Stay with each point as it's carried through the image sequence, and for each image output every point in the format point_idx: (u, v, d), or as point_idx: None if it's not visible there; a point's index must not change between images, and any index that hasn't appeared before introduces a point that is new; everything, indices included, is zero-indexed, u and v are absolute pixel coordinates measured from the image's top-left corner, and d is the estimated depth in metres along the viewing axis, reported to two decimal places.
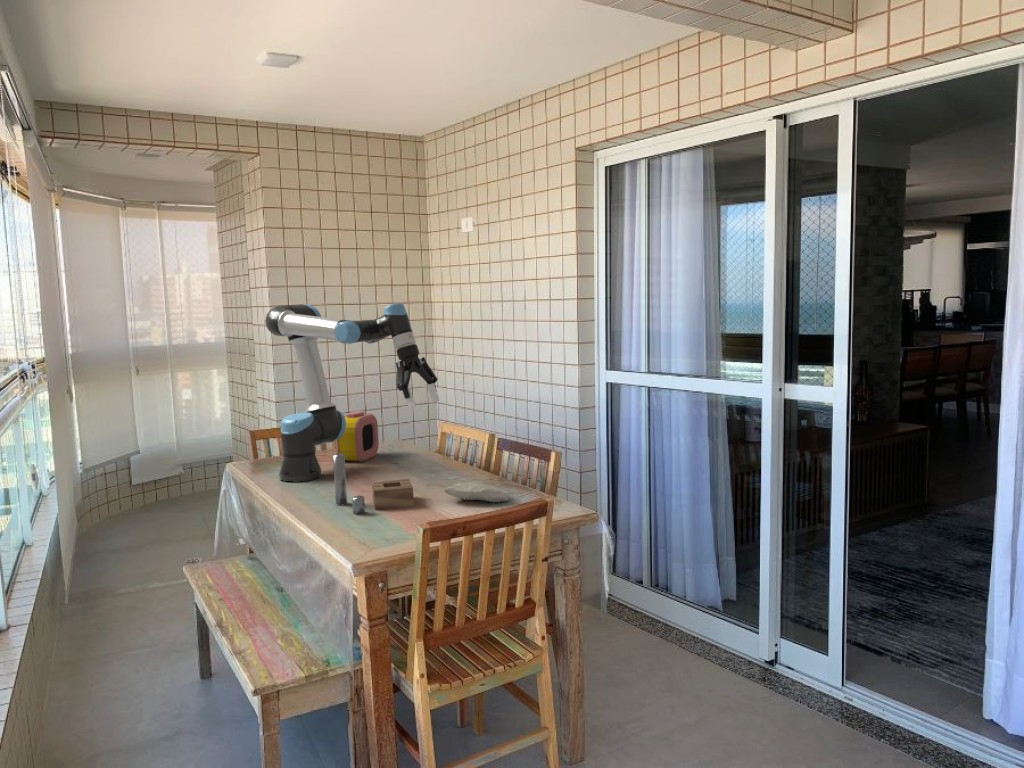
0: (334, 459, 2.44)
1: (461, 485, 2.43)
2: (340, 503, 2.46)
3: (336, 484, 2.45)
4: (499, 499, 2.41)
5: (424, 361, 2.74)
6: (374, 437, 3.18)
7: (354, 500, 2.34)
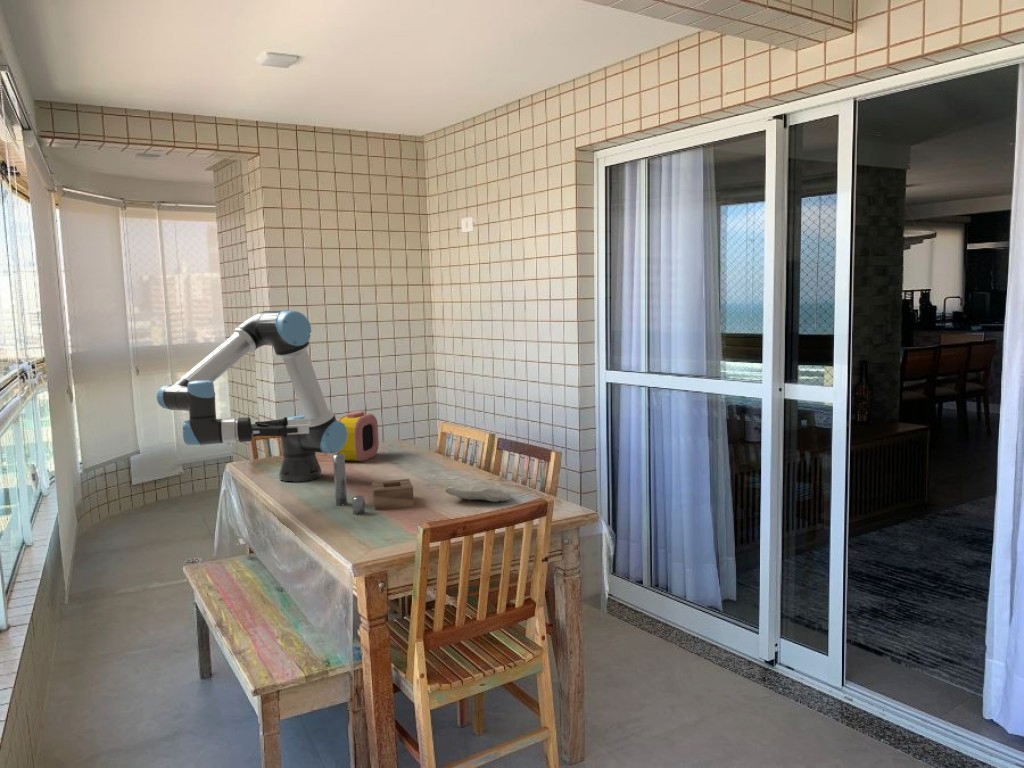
0: (334, 459, 2.44)
1: (462, 485, 2.44)
2: (340, 503, 2.46)
3: (336, 484, 2.45)
4: (500, 499, 2.41)
5: None
6: (374, 437, 3.18)
7: (354, 500, 2.34)
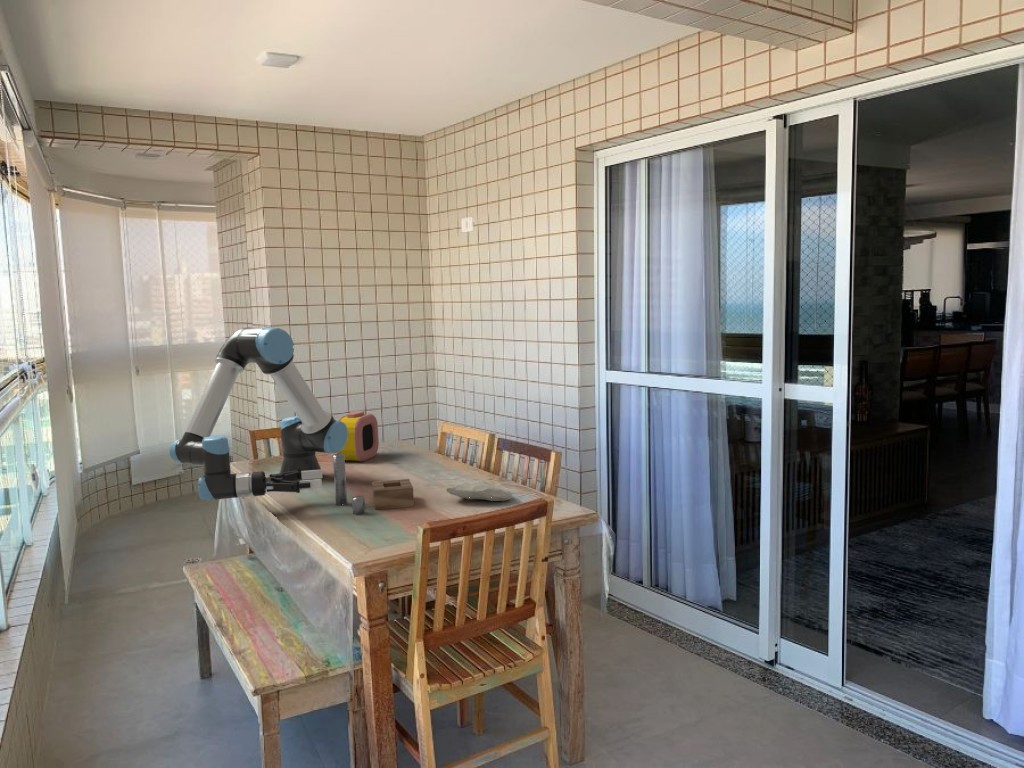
0: (334, 459, 2.44)
1: (463, 484, 2.44)
2: (340, 503, 2.46)
3: (336, 484, 2.45)
4: (501, 498, 2.42)
5: None
6: (374, 437, 3.18)
7: (354, 500, 2.34)
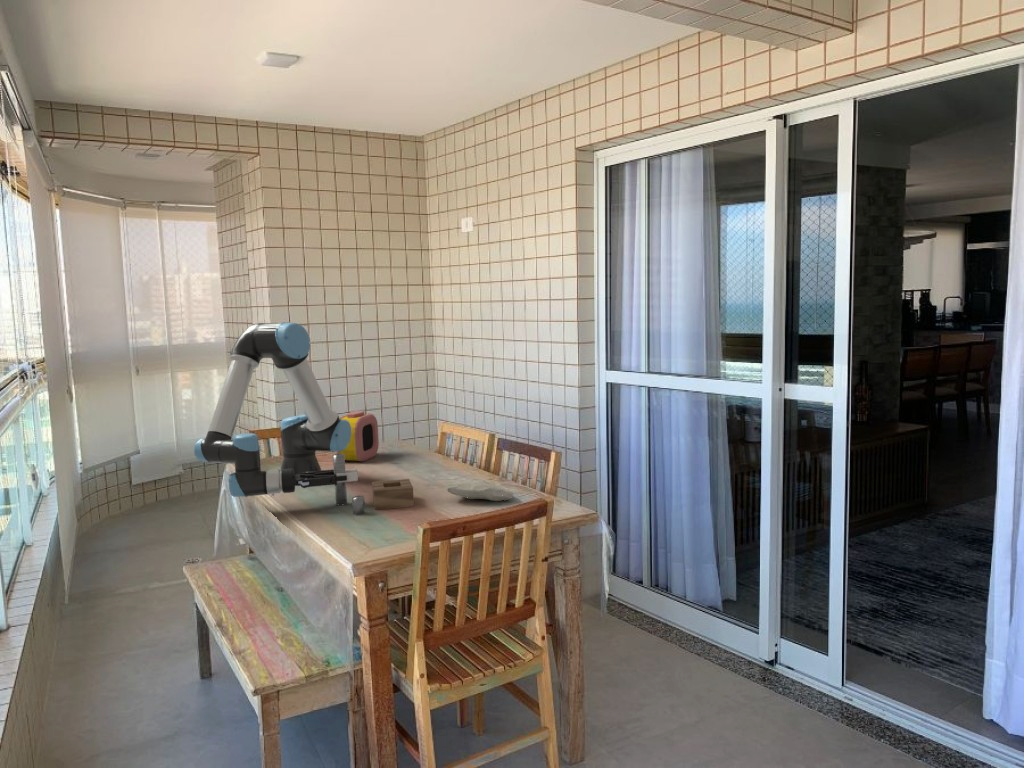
0: (334, 459, 2.44)
1: (464, 484, 2.45)
2: (340, 503, 2.46)
3: None
4: (502, 498, 2.42)
5: None
6: (374, 437, 3.18)
7: (354, 500, 2.34)
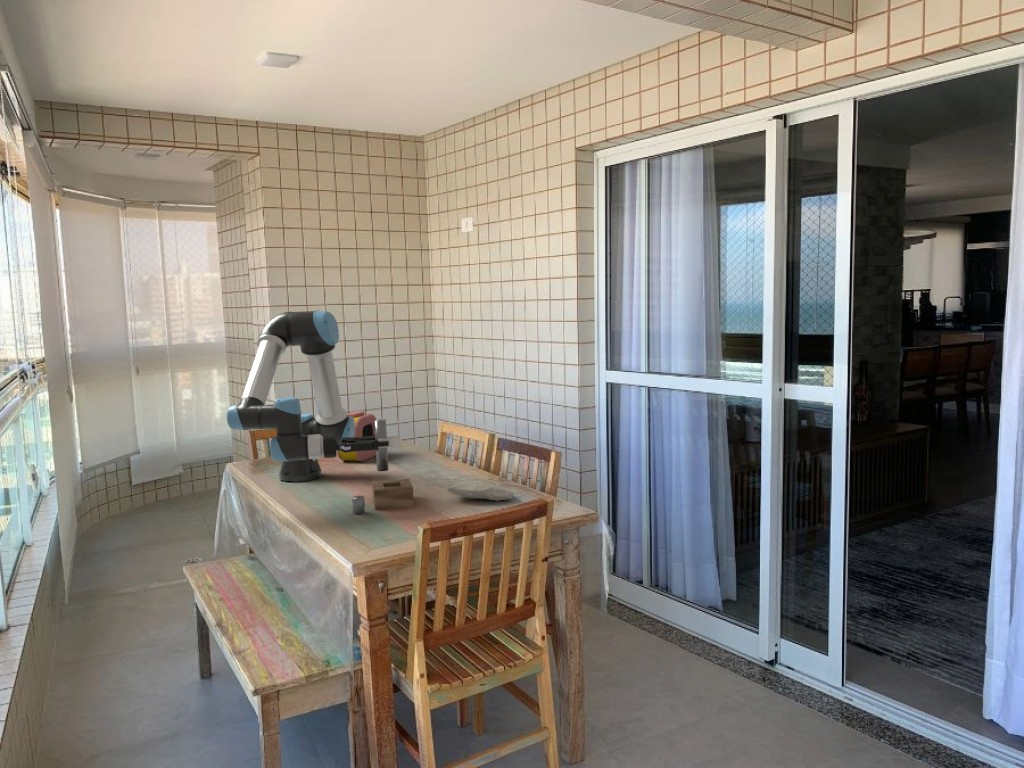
0: (376, 424, 2.41)
1: (465, 484, 2.45)
2: (381, 469, 2.42)
3: None
4: (502, 498, 2.43)
5: None
6: None
7: (354, 500, 2.34)
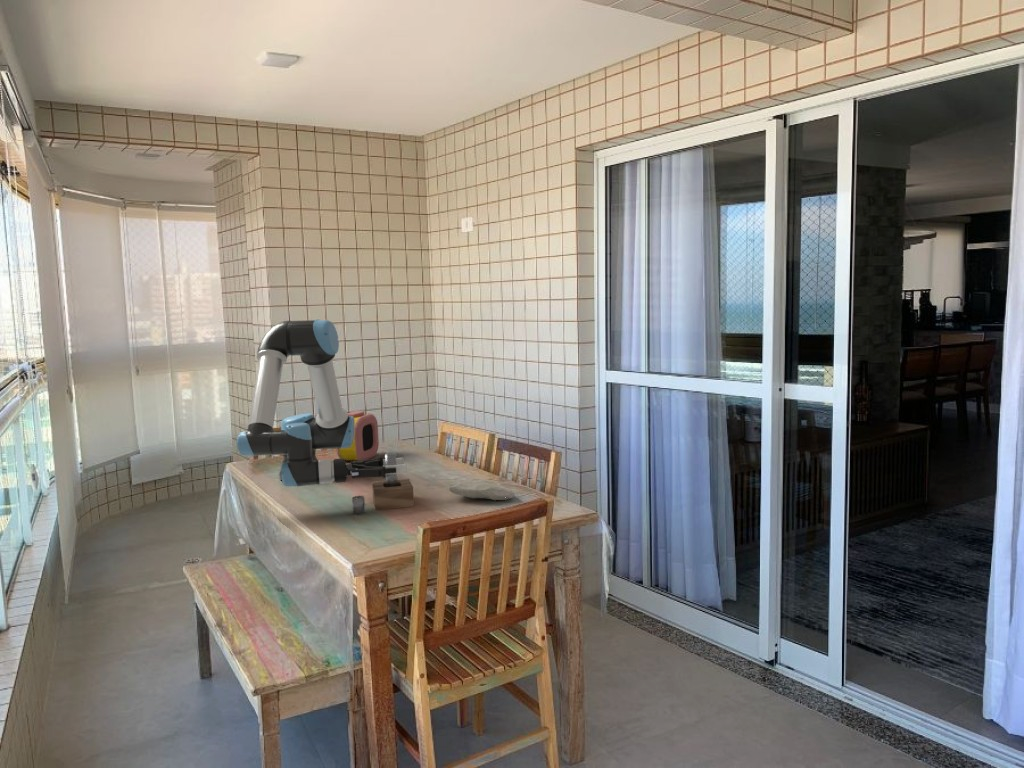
0: (386, 458, 2.43)
1: (466, 483, 2.45)
2: None
3: (388, 483, 2.44)
4: (503, 497, 2.43)
5: None
6: (374, 437, 3.18)
7: (354, 500, 2.34)
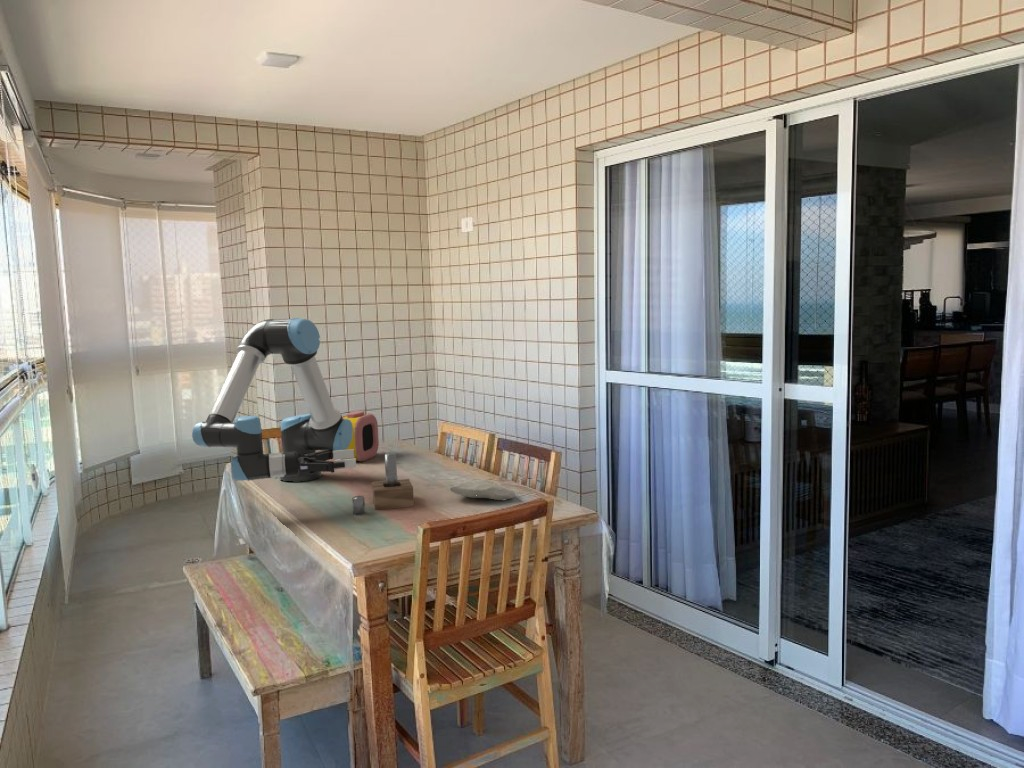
0: (386, 458, 2.43)
1: (466, 483, 2.46)
2: None
3: (388, 483, 2.44)
4: (504, 497, 2.43)
5: None
6: (374, 437, 3.18)
7: (354, 500, 2.34)
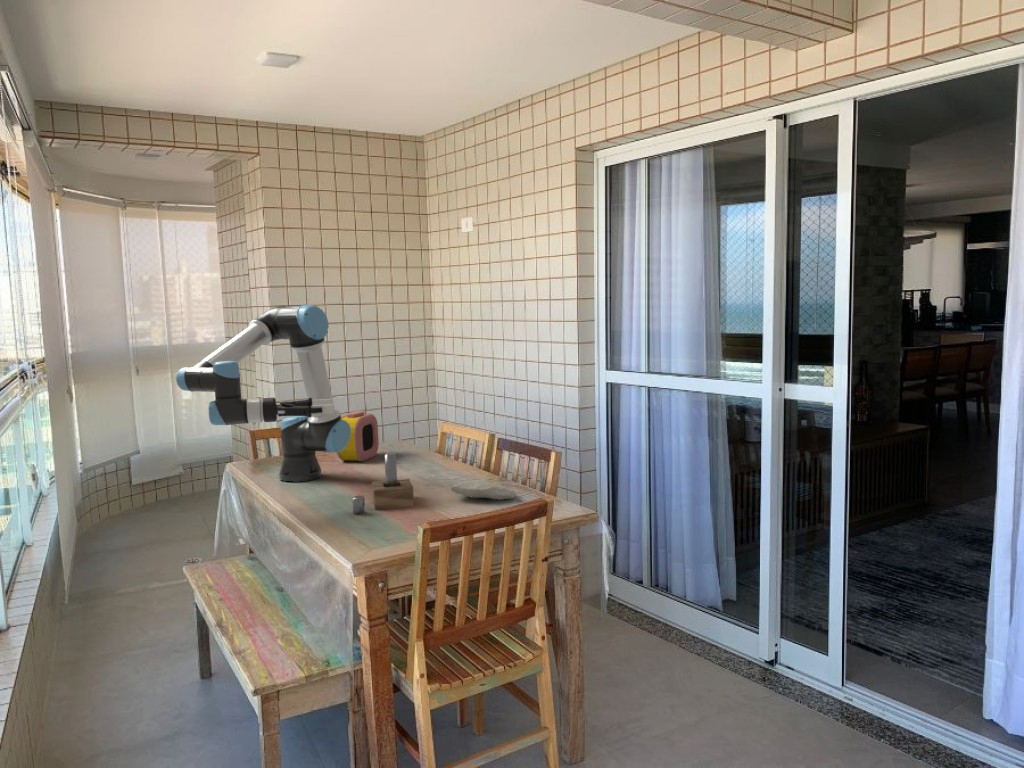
0: (386, 458, 2.43)
1: (467, 483, 2.46)
2: None
3: (388, 483, 2.44)
4: (505, 497, 2.44)
5: None
6: (374, 437, 3.18)
7: (354, 500, 2.34)
